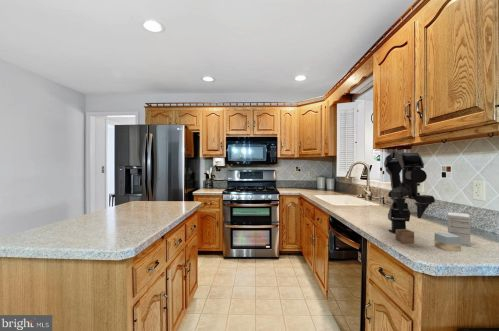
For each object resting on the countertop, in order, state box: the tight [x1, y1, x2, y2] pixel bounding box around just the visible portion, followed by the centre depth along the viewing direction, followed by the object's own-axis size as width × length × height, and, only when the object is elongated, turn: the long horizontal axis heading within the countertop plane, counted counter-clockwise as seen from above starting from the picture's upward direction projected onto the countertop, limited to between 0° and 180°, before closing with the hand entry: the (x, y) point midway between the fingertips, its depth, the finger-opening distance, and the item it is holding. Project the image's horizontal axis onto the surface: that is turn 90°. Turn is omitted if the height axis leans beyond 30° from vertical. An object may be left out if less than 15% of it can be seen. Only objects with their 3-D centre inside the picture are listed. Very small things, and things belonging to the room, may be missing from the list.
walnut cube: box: [395, 228, 415, 245], centre depth 108 cm, size 5×5×5 cm
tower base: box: [433, 239, 462, 252], centre depth 99 cm, size 6×6×3 cm
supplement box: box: [447, 212, 472, 247], centre depth 106 cm, size 7×7×13 cm
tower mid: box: [433, 232, 461, 245], centre depth 99 cm, size 6×6×3 cm
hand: (409, 215), depth 107 cm, fingers open, 9 cm apart
